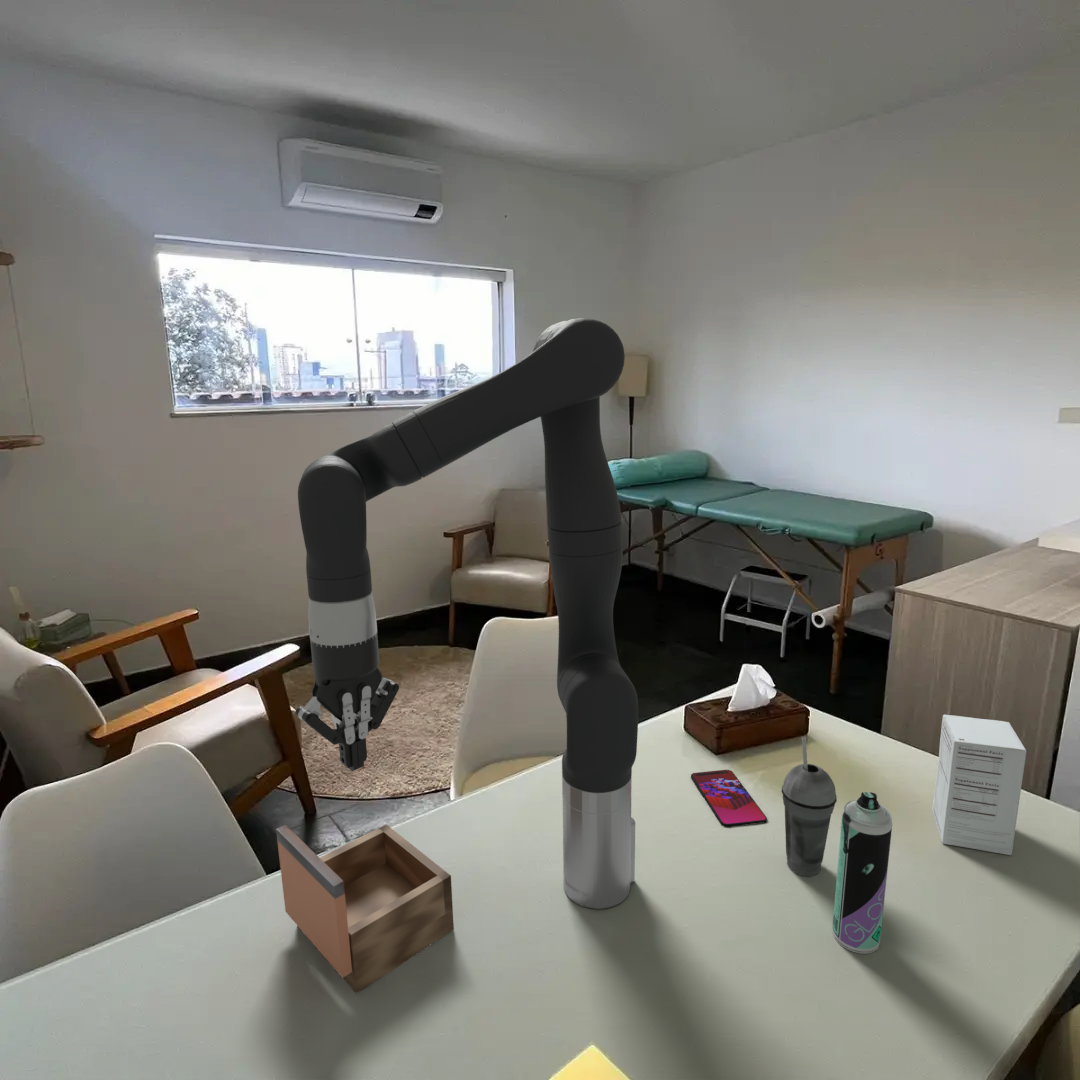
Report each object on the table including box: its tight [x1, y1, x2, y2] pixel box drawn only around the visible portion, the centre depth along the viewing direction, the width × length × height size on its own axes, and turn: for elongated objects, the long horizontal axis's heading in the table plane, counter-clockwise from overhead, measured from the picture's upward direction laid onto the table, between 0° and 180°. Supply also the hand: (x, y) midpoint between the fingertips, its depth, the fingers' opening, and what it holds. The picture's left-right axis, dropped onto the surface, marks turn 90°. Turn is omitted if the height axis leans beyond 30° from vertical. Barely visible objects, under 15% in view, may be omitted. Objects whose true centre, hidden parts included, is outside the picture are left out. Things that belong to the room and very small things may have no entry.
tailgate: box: [275, 824, 352, 979], centre depth 87 cm, size 1×15×12 cm, turn 43°
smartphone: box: [690, 769, 768, 828], centre depth 121 cm, size 8×1×15 cm
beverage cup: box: [780, 736, 838, 877], centre depth 102 cm, size 7×7×20 cm
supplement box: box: [931, 714, 1027, 856], centre depth 109 cm, size 10×9×17 cm
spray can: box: [831, 791, 893, 955], centre depth 89 cm, size 6×6×20 cm
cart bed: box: [319, 824, 455, 994], centre depth 94 cm, size 14×15×8 cm
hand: (354, 766), depth 89 cm, fingers closed
